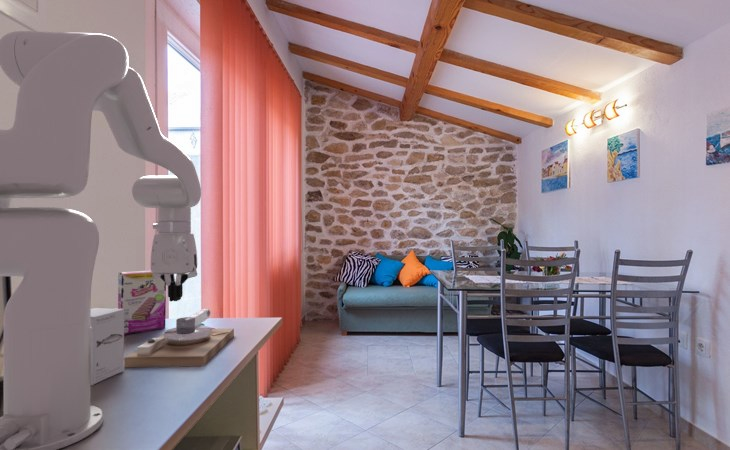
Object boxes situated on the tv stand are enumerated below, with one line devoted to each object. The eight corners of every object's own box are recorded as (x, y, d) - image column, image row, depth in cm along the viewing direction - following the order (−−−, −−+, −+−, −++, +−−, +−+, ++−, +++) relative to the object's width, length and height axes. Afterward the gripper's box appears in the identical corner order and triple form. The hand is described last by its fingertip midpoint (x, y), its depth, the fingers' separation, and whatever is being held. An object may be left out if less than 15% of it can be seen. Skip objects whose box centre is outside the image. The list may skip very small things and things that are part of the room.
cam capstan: (201, 345, 89) (201, 322, 89) (156, 345, 89) (156, 323, 89) (225, 324, 107) (225, 306, 107) (188, 325, 106) (188, 306, 106)
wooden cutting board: (203, 365, 82) (203, 345, 82) (124, 367, 81) (124, 346, 81) (233, 336, 104) (233, 319, 104) (171, 336, 103) (171, 320, 103)
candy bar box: (121, 336, 104) (121, 273, 104) (117, 332, 108) (117, 272, 108) (166, 328, 112) (166, 270, 112) (161, 325, 115) (161, 269, 115)
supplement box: (93, 386, 72) (93, 316, 72) (59, 383, 73) (59, 314, 73) (125, 371, 79) (125, 308, 79) (94, 368, 80) (94, 306, 80)
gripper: (136, 228, 96) (137, 303, 97) (199, 228, 97) (199, 303, 97) (151, 227, 104) (152, 297, 104) (209, 228, 104) (210, 297, 105)
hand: (175, 300), depth 101 cm, fingers closed
